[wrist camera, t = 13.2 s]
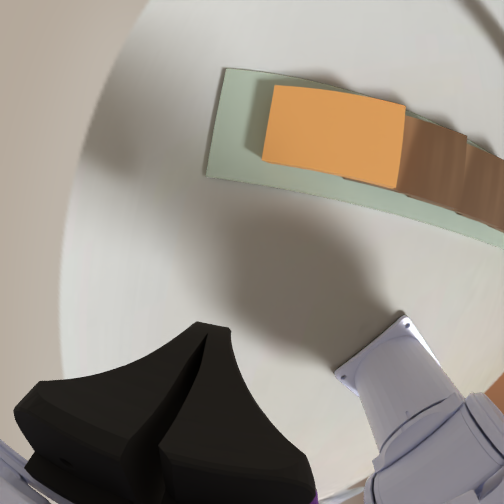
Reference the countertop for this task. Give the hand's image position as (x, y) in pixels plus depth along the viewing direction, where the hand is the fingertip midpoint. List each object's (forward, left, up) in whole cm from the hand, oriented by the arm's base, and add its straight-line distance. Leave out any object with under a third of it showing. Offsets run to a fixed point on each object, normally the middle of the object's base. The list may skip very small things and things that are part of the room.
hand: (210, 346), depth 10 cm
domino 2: (-3, -15, -9) cm, 17 cm away
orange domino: (+5, -9, -9) cm, 13 cm away
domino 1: (+1, -12, -9) cm, 14 cm away
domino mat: (-5, -16, -10) cm, 20 cm away
